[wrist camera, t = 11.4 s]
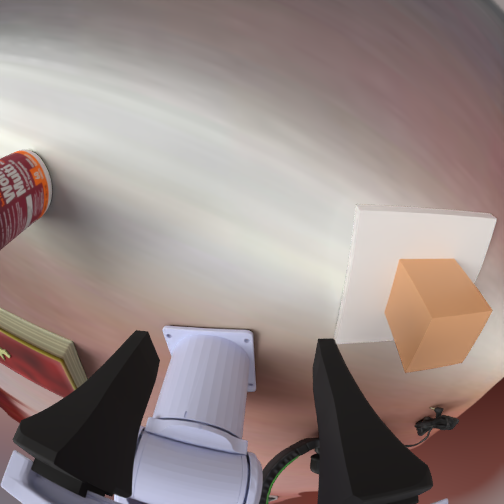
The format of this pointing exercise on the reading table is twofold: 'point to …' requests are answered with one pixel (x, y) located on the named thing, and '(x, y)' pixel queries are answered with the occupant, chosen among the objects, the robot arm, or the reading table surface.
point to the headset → (308, 444)
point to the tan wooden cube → (434, 313)
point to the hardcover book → (39, 355)
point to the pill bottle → (22, 193)
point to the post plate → (402, 247)
